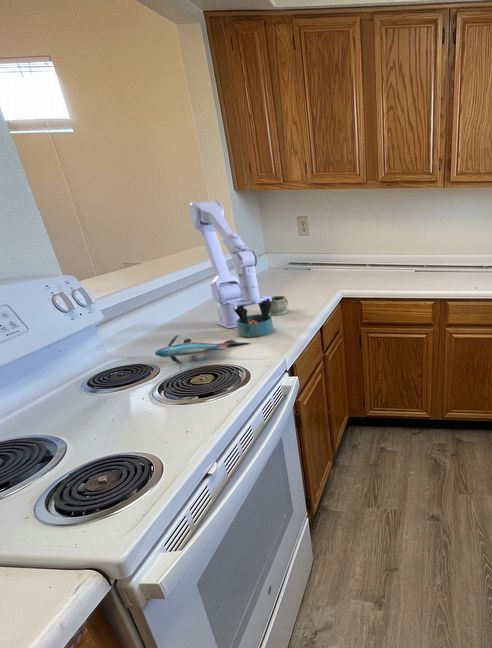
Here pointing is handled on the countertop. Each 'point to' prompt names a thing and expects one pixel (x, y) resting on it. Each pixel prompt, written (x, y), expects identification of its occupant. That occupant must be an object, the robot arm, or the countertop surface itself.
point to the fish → (189, 348)
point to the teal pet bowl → (255, 326)
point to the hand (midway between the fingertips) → (256, 324)
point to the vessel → (278, 305)
